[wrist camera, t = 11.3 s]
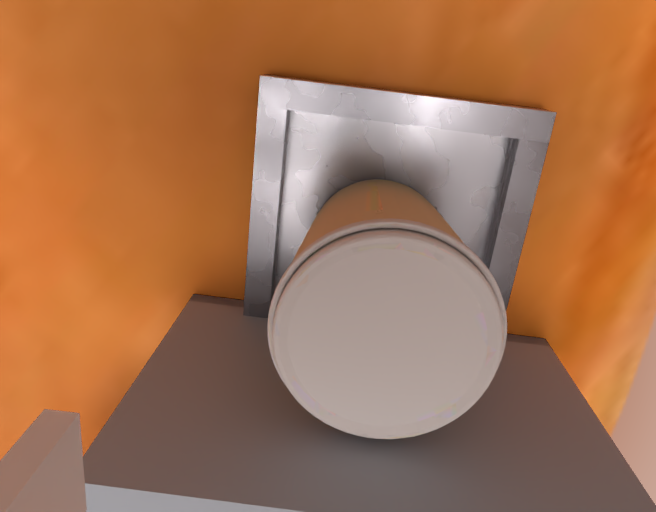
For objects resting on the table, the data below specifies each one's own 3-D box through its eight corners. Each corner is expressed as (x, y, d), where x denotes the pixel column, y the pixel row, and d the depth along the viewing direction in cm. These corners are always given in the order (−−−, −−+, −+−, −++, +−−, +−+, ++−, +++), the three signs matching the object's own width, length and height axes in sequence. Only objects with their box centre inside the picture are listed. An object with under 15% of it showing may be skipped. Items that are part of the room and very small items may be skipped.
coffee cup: (412, 338, 34) (439, 477, 23) (272, 279, 33) (229, 394, 22) (487, 204, 31) (561, 290, 20) (335, 136, 30) (322, 185, 19)
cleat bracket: (265, 74, 30) (259, 75, 28) (543, 108, 29) (556, 112, 28) (249, 301, 34) (243, 315, 32) (488, 331, 34) (496, 347, 32)
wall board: (193, 293, 34) (66, 480, 19) (545, 338, 34) (692, 561, 19) (191, 363, 36) (73, 584, 21) (525, 406, 36) (647, 658, 21)
